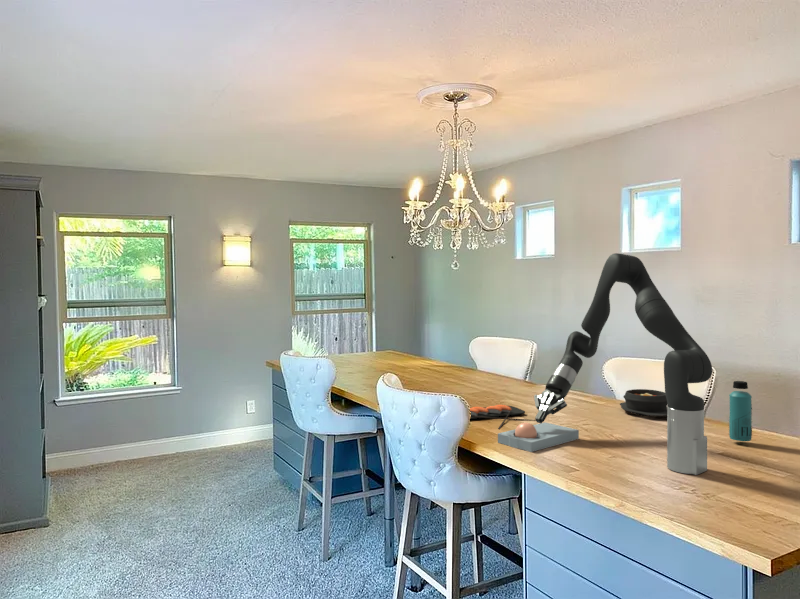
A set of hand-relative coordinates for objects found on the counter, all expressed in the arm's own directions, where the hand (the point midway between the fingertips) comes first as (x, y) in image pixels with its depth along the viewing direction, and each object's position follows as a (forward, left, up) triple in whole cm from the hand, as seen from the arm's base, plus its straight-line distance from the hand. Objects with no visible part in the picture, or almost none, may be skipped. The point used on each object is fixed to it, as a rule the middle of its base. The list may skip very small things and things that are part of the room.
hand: (538, 421), depth 195 cm
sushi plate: (+31, -12, -7) cm, 34 cm away
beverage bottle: (-43, -47, -7) cm, 64 cm away
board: (0, 0, -6) cm, 6 cm away
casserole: (-1, -64, -7) cm, 65 cm away
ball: (0, +6, -3) cm, 7 cm away
